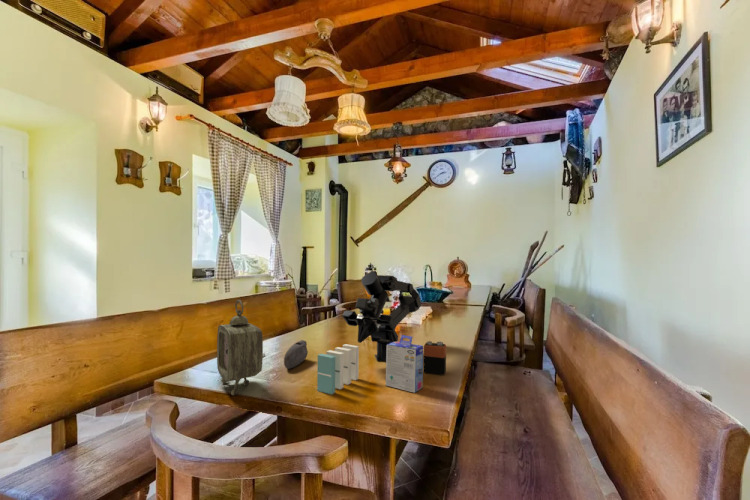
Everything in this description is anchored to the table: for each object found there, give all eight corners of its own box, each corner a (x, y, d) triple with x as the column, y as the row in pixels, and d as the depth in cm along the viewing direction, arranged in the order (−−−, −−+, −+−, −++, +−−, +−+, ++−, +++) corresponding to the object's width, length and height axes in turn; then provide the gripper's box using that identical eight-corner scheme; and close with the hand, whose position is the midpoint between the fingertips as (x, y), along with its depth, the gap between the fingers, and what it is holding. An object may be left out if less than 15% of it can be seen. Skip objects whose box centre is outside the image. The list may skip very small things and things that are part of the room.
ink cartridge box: (424, 387, 96) (424, 337, 96) (415, 393, 92) (416, 341, 92) (394, 380, 102) (394, 332, 102) (385, 386, 97) (385, 336, 97)
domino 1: (321, 388, 95) (321, 353, 95) (335, 392, 92) (335, 356, 92) (317, 390, 93) (317, 355, 93) (331, 394, 91) (331, 357, 91)
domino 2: (329, 383, 98) (330, 350, 98) (343, 387, 96) (343, 352, 96) (326, 385, 97) (326, 351, 97) (339, 389, 94) (340, 354, 94)
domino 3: (337, 379, 101) (338, 346, 102) (351, 382, 99) (351, 349, 99) (334, 381, 100) (334, 348, 100) (347, 384, 97) (348, 350, 98)
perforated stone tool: (292, 373, 107) (292, 351, 107) (277, 371, 108) (277, 350, 108) (310, 358, 122) (311, 339, 122) (297, 357, 123) (297, 339, 123)
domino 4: (345, 375, 105) (345, 343, 105) (358, 378, 102) (358, 346, 103) (342, 377, 103) (342, 345, 104) (355, 380, 101) (355, 347, 101)
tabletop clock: (216, 382, 98) (217, 298, 99) (247, 376, 104) (249, 296, 104) (228, 399, 87) (230, 304, 87) (263, 391, 92) (264, 301, 93)
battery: (444, 376, 105) (444, 344, 106) (423, 373, 108) (423, 342, 108) (446, 371, 110) (446, 341, 110) (425, 369, 112) (425, 339, 112)
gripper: (345, 287, 117) (325, 324, 107) (392, 290, 108) (375, 331, 98) (357, 306, 124) (339, 343, 114) (402, 311, 114) (387, 351, 105)
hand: (359, 342), depth 107 cm, fingers closed
